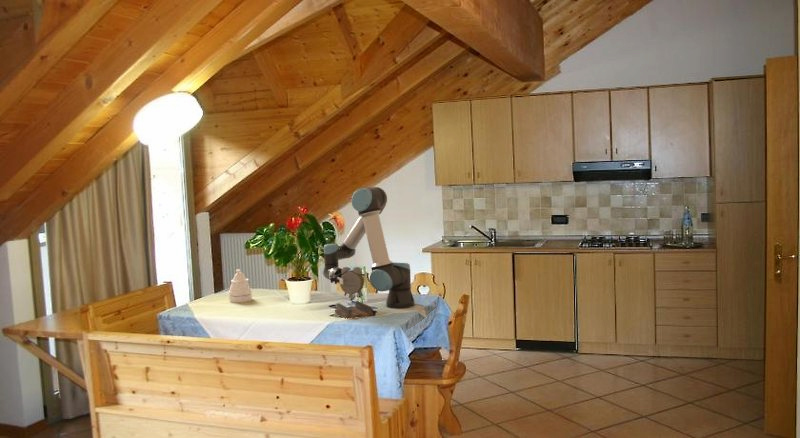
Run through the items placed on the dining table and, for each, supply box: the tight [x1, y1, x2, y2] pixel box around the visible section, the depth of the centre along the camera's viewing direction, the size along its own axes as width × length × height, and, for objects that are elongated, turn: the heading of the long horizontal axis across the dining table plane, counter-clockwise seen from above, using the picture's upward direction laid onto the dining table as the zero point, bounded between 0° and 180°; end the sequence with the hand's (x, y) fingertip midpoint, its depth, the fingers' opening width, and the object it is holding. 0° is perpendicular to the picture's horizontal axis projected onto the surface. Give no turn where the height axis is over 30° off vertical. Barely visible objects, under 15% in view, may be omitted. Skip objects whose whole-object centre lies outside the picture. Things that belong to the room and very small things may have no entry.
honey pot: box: [228, 269, 253, 303], centre depth 398 cm, size 13×13×18 cm
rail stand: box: [334, 300, 374, 320], centre depth 350 cm, size 14×18×4 cm
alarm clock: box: [339, 266, 365, 299], centre depth 346 cm, size 12×7×15 cm, turn 70°
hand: (353, 280), depth 345 cm, fingers closed on alarm clock, 11 cm apart
